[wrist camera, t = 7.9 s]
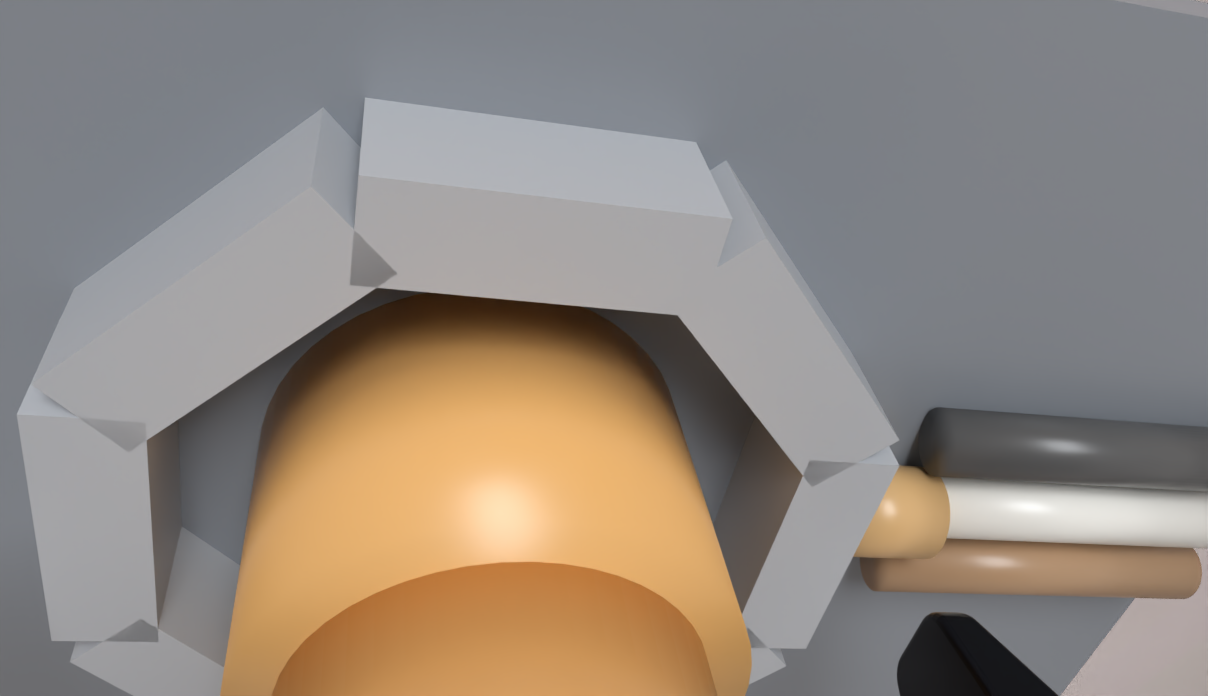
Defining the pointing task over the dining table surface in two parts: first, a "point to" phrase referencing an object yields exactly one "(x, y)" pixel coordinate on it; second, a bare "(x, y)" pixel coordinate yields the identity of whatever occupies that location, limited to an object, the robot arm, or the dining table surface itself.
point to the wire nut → (480, 517)
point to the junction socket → (622, 293)
